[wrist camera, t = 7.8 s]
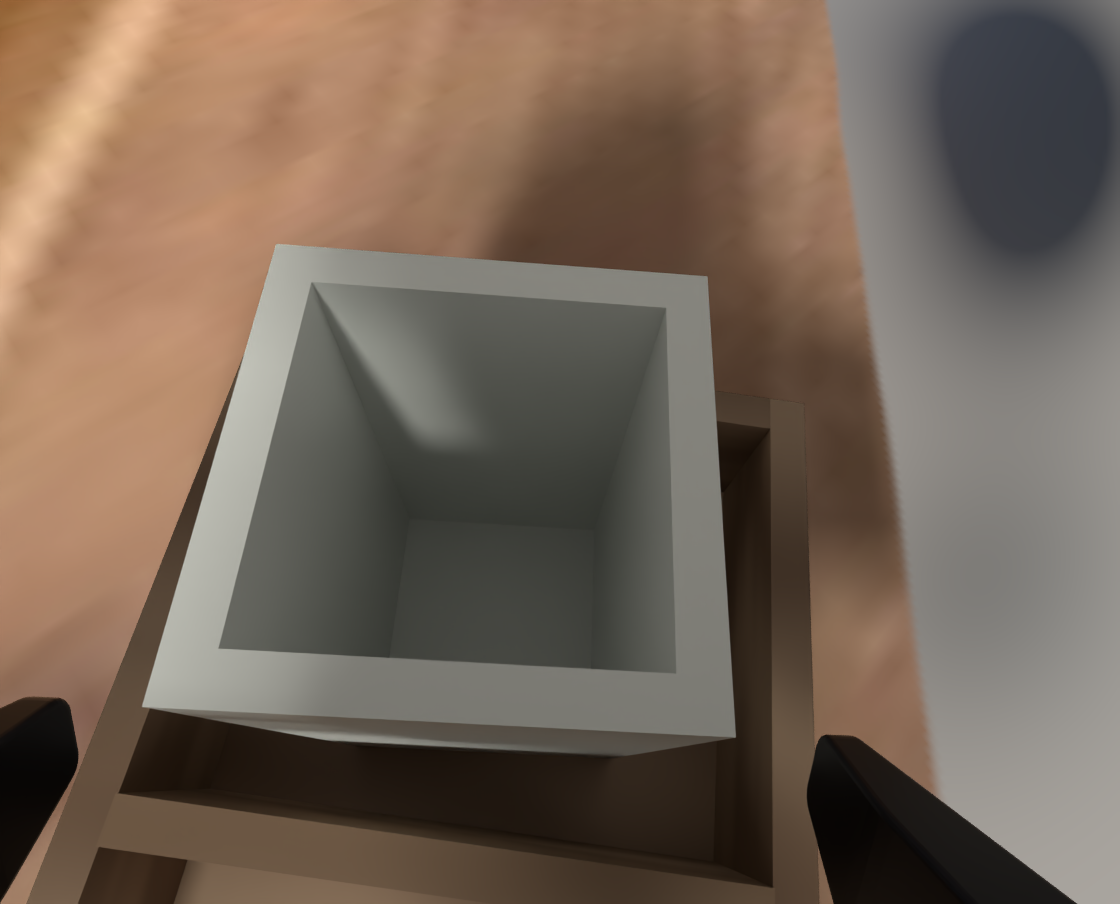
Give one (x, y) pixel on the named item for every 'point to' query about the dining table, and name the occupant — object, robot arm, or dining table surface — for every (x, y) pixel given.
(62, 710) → the robot arm
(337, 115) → the dining table surface
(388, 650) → the box
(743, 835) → the crate
